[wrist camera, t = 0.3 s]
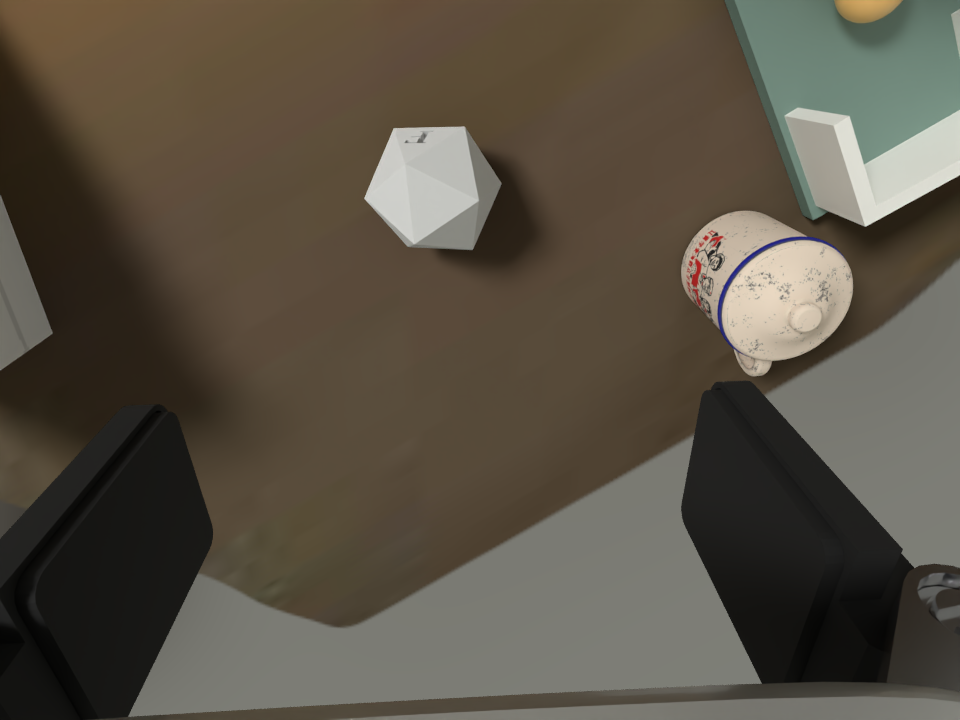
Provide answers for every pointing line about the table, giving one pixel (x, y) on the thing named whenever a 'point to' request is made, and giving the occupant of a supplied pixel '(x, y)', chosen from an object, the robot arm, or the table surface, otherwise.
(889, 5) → the ball
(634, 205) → the table surface
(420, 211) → the die
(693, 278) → the teacup with lid
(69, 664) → the robot arm
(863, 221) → the game board
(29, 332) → the pizza boxes
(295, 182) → the table surface
